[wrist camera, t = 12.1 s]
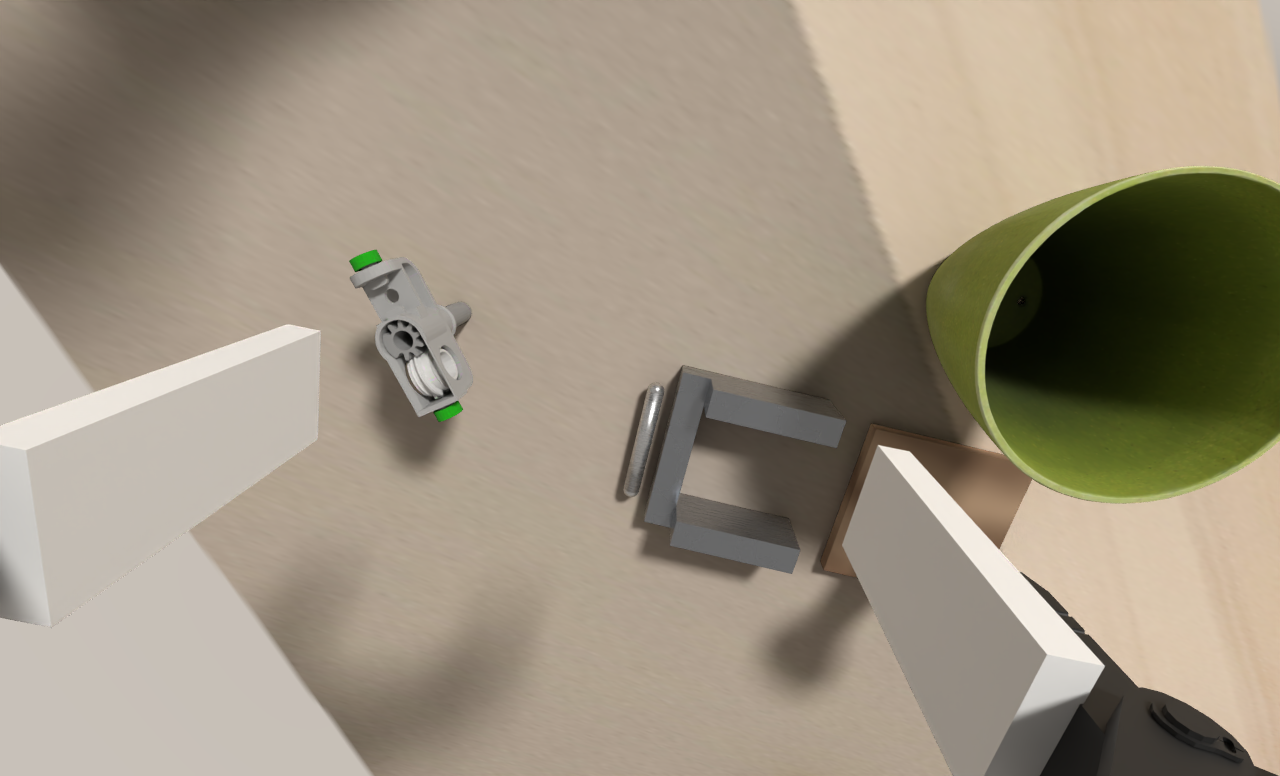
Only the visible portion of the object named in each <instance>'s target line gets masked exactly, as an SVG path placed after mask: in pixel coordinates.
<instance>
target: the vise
mask: <svg viewBox="0 0 1280 776" xmlns="http://www.w3.org/2000/svg"><path fill="white" fill-rule="evenodd" d="M663 395H664V387H663V386H662V385H661V384H660V383H657V382H655V383H652V384H650V385H649V387H648V390H647V394H646V398H645V402H644V406H643V410H642V415H641V419H640V423H639V427H638V431H637V435H636V439H635V443H634V447H633V451H632V455H631V459H630V463H629V467H628V472H627V476H626V480H625V484H624V488H623V489H624V493H625V494H626V495H627V496H629V497H634V496H636V495H637V494H638V492H639V489H640V485H641V481H642V477H643V474H644V470H645V466H646V462H647V458H648V454H649V450H650V446H651V442H652V438H653V434H654V430H655V426H656V422H657V419H658V415H659V411H660V407H661V403H662V399H663ZM703 407H704V409H705V416H706V418H711V419H715V420H719V421H723V422H728V423H732V424H736V425H740V426H745V427H749V428H753V429H757V430H762V431H766V432H770V433H774V434H779V435H783V436H787V437H791V438H795V439H800V440H804V441H808V442H812V443H817V444H821V445H825V446H829V447H834V448H837V446H838V443H839V440H840V437H841V435H842V432H843V429H844V426H845V423H846V420H845V419H844V417H843V416H842V415H841V414H840V412H839V411H838V410H837V409H836V407H835V406H834V405H833V404H832V403H831V401H830V400H828V399H823V398H819V397H815V396H811V395H807V394H802V393H798V392H794V391H790V390H786V389H781V388H777V387H773V386H769V385H764V384H760V383H756V382H752V381H748V380H743V379H739V378H735V377H731V376H727V375H722V374H718V373H714V372H710V371H705V370H701V369H697V368H693V367H689V366H684V365H683V366H682V370H681V374H680V378H679V382H678V386H677V390H676V393H675V397H674V401H673V405H672V409H671V413H670V416H669V420H668V424H667V428H666V432H665V436H664V439H663V443H662V447H661V451H660V455H659V459H658V462H657V466H656V470H655V474H654V478H653V482H652V485H651V489H650V493H649V497H648V501H647V505H646V508H645V519H644V522H648V523H652V524H656V525H661V526H665V527H669V528H670V546H674V547H678V548H683V549H687V550H691V551H696V552H700V553H704V554H709V555H713V556H717V557H721V558H726V559H730V560H734V561H739V562H743V563H747V564H752V565H756V566H760V567H765V568H769V569H773V570H777V571H782V572H786V573H790V574H792V572H793V570H794V567H795V564H796V561H797V558H798V556H799V553H800V548H799V545H798V542H797V540H796V537H795V534H794V532H793V529H792V526H791V523H790V521H789V519H788V518H784V517H780V516H776V515H771V514H767V513H763V512H758V511H754V510H750V509H746V508H741V507H737V506H733V505H728V504H724V503H720V502H716V501H711V500H707V499H703V498H698V497H694V496H690V495H686V494H681V493H680V490H681V486H682V483H683V479H684V475H685V472H686V468H687V465H688V461H689V457H690V454H691V450H692V447H693V443H694V439H695V436H696V432H697V429H698V425H699V421H700V418H701V414H702V411H703Z"/></svg>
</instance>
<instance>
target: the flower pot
mask: <svg viewBox="0 0 1280 776" xmlns="http://www.w3.org/2000/svg"><path fill="white" fill-rule="evenodd" d="M1021 297H1024V298H1025V303H1024V304H1022V305H1020V304H1018V303H1017V302H1018V300H1019V299H1020V298H1021ZM926 313H927V321H928V327H929V331H930V335H931V338H932V342H933V345H934V348H935V350H936V353H937V356H938V358H939V360H940V362H941V365H942V367H943V369H944V371H945V372H946V374H947V376H948V378H949V380H950V382H951V384H952V385H953V387H954V389H955V391H956V392H957V394H958V396H959V397H960V399H961V400H962V402H963V403H964V405H965V406H966V408H967V409H968V411H969V412H970V413H971V415H972V416H973V417H974V419H975V420H976V421H977V422H978V424H979V425H980V426H981V427H982V429H983V430H984V431H985V432H986V434H987V435H988V436H989V437H990V439H991V440H992V441H993V442H994V443H995V445H996V446H997V447H998V448H999V449H1000V450H1001V451H1002V453H1003V454H1004V455H1005V456H1006V457H1007V458H1008V459H1009V460H1010V461H1011V462H1012V463H1013V464H1014V465H1015V466H1016V467H1017V468H1018V469H1019V470H1020V471H1022V472H1023V473H1024V474H1026V475H1027V476H1028V477H1030V478H1031V479H1033V480H1035V481H1036V482H1038V483H1039V484H1041V485H1043V486H1045V487H1047V488H1049V489H1051V490H1054V491H1056V492H1059V493H1061V494H1064V495H1067V496H1071V497H1075V498H1078V499H1082V500H1087V501H1094V502H1103V503H1141V502H1150V501H1156V500H1162V499H1167V498H1171V497H1175V496H1179V495H1182V494H1186V493H1189V492H1192V491H1195V490H1198V489H1200V488H1203V487H1205V486H1208V485H1210V484H1213V483H1215V482H1217V481H1219V480H1222V479H1223V478H1225V477H1227V476H1229V475H1231V474H1233V473H1235V472H1237V471H1238V470H1240V469H1242V468H1244V467H1245V466H1247V465H1249V464H1250V463H1252V462H1253V461H1255V460H1256V459H1257V458H1259V457H1260V456H1262V455H1263V454H1264V453H1265V452H1267V451H1268V450H1269V449H1271V448H1272V447H1273V446H1274V445H1275V444H1276V443H1277V442H1279V441H1280V184H1279V183H1277V182H1275V181H1273V180H1270V179H1267V178H1265V177H1262V176H1260V175H1257V174H1253V173H1250V172H1247V171H1243V170H1237V169H1232V168H1225V167H1213V166H1187V167H1178V168H1170V169H1164V170H1158V171H1154V172H1150V173H1145V174H1141V175H1137V176H1132V177H1128V178H1125V179H1121V180H1117V181H1113V182H1110V183H1106V184H1102V185H1098V186H1095V187H1091V188H1088V189H1084V190H1081V191H1077V192H1074V193H1071V194H1068V195H1065V196H1062V197H1058V198H1055V199H1053V200H1050V201H1048V202H1045V203H1042V204H1040V205H1037V206H1035V207H1032V208H1030V209H1027V210H1025V211H1023V212H1020V213H1018V214H1016V215H1014V216H1011V217H1009V218H1007V219H1005V220H1003V221H1001V222H999V223H997V224H995V225H993V226H991V227H990V228H988V229H986V230H985V231H983V232H981V233H979V234H978V235H976V236H975V237H973V238H972V239H970V240H969V241H967V242H966V243H964V244H963V245H962V246H961V247H959V248H958V249H957V250H956V251H955V252H953V253H952V254H951V255H950V256H949V257H948V258H947V259H946V260H945V261H944V262H943V263H942V264H941V266H940V267H939V268H938V270H937V271H936V273H935V274H934V276H933V278H932V280H931V282H930V285H929V288H928V292H927V298H926Z"/></svg>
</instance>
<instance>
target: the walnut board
mask: <svg viewBox="0 0 1280 776" xmlns="http://www.w3.org/2000/svg"><path fill="white" fill-rule="evenodd" d="M878 445H880V446H885V447H890V448H895V449H900V450H905V451H910V452H911V453H912V455H913V456H914V457H915V458H916V459H917V460H918V461H919V462H920V463H921V464H922V466H923V467H924V468H925V469H926V470H927V471H928V472H929V473H930V474H931V475H932V477H933V478H934V479H935V480H936V481H937V482H938V483H939V484H940V485H941V486H942V488H943V489H944V490H945V491H946V492H947V493H948V494H949V495H950V496H951V497H952V498H953V500H954V501H955V502H956V503H957V504H958V505H959V506H960V507H961V508H962V509H963V511H964V512H965V513H966V514H967V515H968V516H969V517H970V518H971V519H972V520H973V522H974V523H975V524H976V525H977V526H978V527H979V528H980V529H981V530H982V531H983V533H984V534H985V535H986V536H987V537H988V538H989V539H990V540H991V541H992V542H993V544H994V545H995V546H996V547H997V548H998V549H1000V546H1001V544H1002V542H1003V540H1004V538H1005V536H1006V534H1007V531H1008V529H1009V527H1010V525H1011V523H1012V521H1013V519H1014V517H1015V514H1016V512H1017V510H1018V508H1019V506H1020V504H1021V502H1022V499H1023V497H1024V495H1025V493H1026V491H1027V489H1028V487H1029V485H1030V482H1031V480H1032V479H1031V478H1030V477H1028V476H1027V475H1026V474H1024V473H1023V472H1022V471H1020V470H1019V469H1018V468H1017V467H1016V466H1015V465H1014V464H1013V463H1012V462H1011V461H1010V460H1009V459H1008V458H1007V457H1006V456H1005V455H1003V454H998V453H994V452H990V451H986V450H981V449H977V448H973V447H969V446H965V445H960V444H956V443H952V442H948V441H943V440H939V439H935V438H931V437H927V436H922V435H918V434H914V433H910V432H905V431H901V430H897V429H893V428H889V427H884V426H880V425H876V424H872V423H871V425H870V428H869V430H868V433H867V436H866V439H865V441H864V444H863V447H862V449H861V452H860V455H859V458H858V460H857V463H856V466H855V468H854V471H853V474H852V476H851V479H850V482H849V485H848V487H847V490H846V493H845V495H844V498H843V501H842V504H841V506H840V509H839V512H838V514H837V517H836V520H835V523H834V525H833V528H832V531H831V533H830V536H829V539H828V542H827V544H826V547H825V550H824V552H823V555H822V558H821V560H820V562H821V564H822V567H823V569H824V570H826V571H830V572H835V573H839V574H843V575H847V576H852V577H856V578H858V577H857V575H856V573H855V571H854V569H853V567H852V565H851V563H850V561H849V559H848V557H847V554H846V552H845V550H844V548H843V546H842V544H843V541H844V538H845V535H846V533H847V530H848V527H849V524H850V521H851V519H852V516H853V513H854V510H855V507H856V505H857V502H858V499H859V496H860V493H861V491H862V488H863V485H864V482H865V479H866V477H867V474H868V471H869V468H870V465H871V463H872V460H873V457H874V454H875V451H876V449H877V446H878Z"/></svg>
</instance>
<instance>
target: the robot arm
mask: <svg viewBox="0 0 1280 776" xmlns="http://www.w3.org/2000/svg"><path fill="white" fill-rule="evenodd" d="M320 343H321V331H319V330H314V329H309V328H304V327H299V326H294V325H289V324H287V325H284V326H281V327H278V328H275V329H273V330H270V331H267V332H264V333H261V334H258V335H256V336H253V337H250V338H247V339H244V340H241V341H239V342H236V343H233V344H230V345H227V346H224V347H221V348H219V349H216V350H213V351H210V352H207V353H204V354H202V355H199V356H196V357H193V358H190V359H187V360H185V361H182V362H179V363H176V364H173V365H170V366H168V367H165V368H162V369H159V370H156V371H153V372H150V373H148V374H145V375H142V376H139V377H136V378H133V379H131V380H128V381H125V382H122V383H119V384H116V385H114V386H111V387H108V388H105V389H102V390H99V391H96V392H94V393H91V394H88V395H85V396H82V397H79V398H77V399H74V400H71V401H69V402H65V403H63V404H60V405H57V406H54V407H51V408H48V409H46V410H43V411H40V412H37V413H34V414H32V415H28V416H26V417H23V418H20V419H17V420H14V421H12V422H9V423H6V424H3V425H0V618H5V619H10V620H15V621H21V622H26V623H31V624H36V625H41V626H46V627H53V626H55V625H56V624H57V623H59V622H60V621H62V620H63V619H64V618H66V617H67V616H69V615H70V614H72V613H73V612H74V611H76V610H77V609H78V608H80V607H81V606H83V605H84V604H86V603H87V602H88V601H90V600H91V599H93V598H94V597H95V596H97V595H98V594H100V593H101V592H102V591H104V590H105V589H107V588H108V587H110V586H111V585H112V584H114V583H115V582H116V581H118V580H119V579H121V578H122V577H124V576H125V575H126V574H128V573H129V572H131V571H132V570H134V569H135V568H136V567H138V566H139V565H141V564H142V563H144V562H145V561H146V560H148V559H149V558H151V557H152V556H153V555H155V554H156V553H158V552H159V551H161V550H162V549H163V548H165V547H166V546H167V545H169V544H170V543H172V542H173V541H175V540H176V539H177V538H179V537H180V536H182V535H183V534H185V533H186V532H187V531H189V530H190V529H192V528H193V527H194V526H196V525H197V524H199V523H200V522H202V521H203V520H204V519H206V518H207V517H209V516H210V515H211V514H213V513H214V512H216V511H217V510H218V509H220V508H221V507H223V506H224V505H226V504H227V503H228V502H230V501H231V500H233V499H234V498H235V497H237V496H238V495H240V494H241V493H243V492H244V491H245V490H247V489H248V488H250V487H251V486H252V485H254V484H255V483H257V482H258V481H259V480H261V479H262V478H264V477H265V476H267V475H268V474H269V473H271V472H272V471H274V470H275V469H276V468H278V467H279V466H281V465H282V464H283V463H285V462H286V461H288V460H289V459H291V458H292V457H293V456H295V455H296V454H298V453H299V452H300V451H302V450H303V449H305V448H306V447H308V446H309V445H310V444H312V443H313V442H315V441H316V440H317V439H318V415H319V379H320ZM842 546H843V548H844V550H845V552H846V554H847V557H848V559H849V561H850V563H851V565H852V567H853V569H854V571H855V573H856V575H857V577H858V579H859V581H860V584H861V586H862V588H863V590H864V592H865V594H866V596H867V598H868V600H869V602H870V604H871V606H872V609H873V611H874V613H875V615H876V617H877V619H878V621H879V623H880V625H881V627H882V629H883V631H884V634H885V636H886V638H887V640H888V642H889V644H890V646H891V648H892V650H893V652H894V654H895V656H896V659H897V661H898V663H899V665H900V667H901V669H902V671H903V673H904V675H905V677H906V679H907V681H908V684H909V686H910V688H911V690H912V692H913V694H914V696H915V698H916V700H917V702H918V704H919V706H920V708H921V711H922V713H923V715H924V717H925V719H926V721H927V723H928V725H929V727H930V729H931V731H932V733H933V736H934V738H935V740H936V742H937V744H938V746H939V748H940V750H941V752H942V754H943V756H944V758H945V761H946V763H947V765H948V767H949V769H950V771H951V773H952V775H953V776H1278V775H1275V774H1273V773H1270V772H1268V771H1265V770H1263V769H1261V768H1258V767H1256V766H1254V764H1253V762H1252V760H1251V758H1250V756H1249V754H1248V752H1247V751H1246V750H1245V749H1244V748H1243V747H1242V746H1241V745H1240V743H1239V742H1238V741H1237V740H1236V739H1235V738H1234V737H1233V736H1232V735H1231V734H1230V733H1228V732H1227V731H1226V730H1225V729H1223V728H1222V727H1221V726H1220V725H1218V724H1217V723H1216V722H1214V721H1213V720H1212V719H1211V718H1209V717H1208V716H1206V715H1204V714H1203V713H1201V712H1199V711H1198V710H1196V709H1194V708H1193V707H1191V706H1190V705H1188V704H1186V703H1184V702H1182V701H1180V700H1178V699H1175V698H1173V697H1171V696H1169V695H1167V694H1164V693H1162V692H1158V691H1154V690H1151V689H1147V688H1138V687H1137V686H1136V685H1135V684H1134V682H1133V681H1132V680H1131V679H1130V678H1129V677H1128V676H1127V675H1126V674H1125V673H1124V672H1123V671H1122V670H1121V669H1120V668H1119V666H1118V665H1117V664H1116V663H1115V662H1114V661H1113V660H1112V659H1111V658H1110V657H1109V656H1108V655H1107V654H1106V653H1105V652H1104V650H1103V649H1102V648H1101V647H1100V646H1099V645H1098V644H1097V643H1096V642H1095V641H1094V640H1093V639H1092V638H1091V637H1090V636H1089V635H1087V634H1085V633H1084V631H1085V630H1084V629H1083V628H1082V627H1081V626H1080V625H1079V624H1078V623H1077V622H1076V621H1075V620H1074V618H1073V617H1069V616H1068V612H1067V611H1066V610H1065V609H1064V608H1063V607H1062V606H1061V605H1060V604H1059V602H1058V601H1057V600H1056V599H1055V598H1054V597H1053V596H1052V595H1051V594H1050V593H1049V592H1048V591H1047V590H1045V589H1044V588H1042V587H1041V586H1040V585H1038V584H1037V583H1036V582H1034V581H1033V580H1031V579H1030V578H1029V577H1027V576H1026V575H1025V574H1023V573H1022V572H1019V571H1018V570H1017V569H1016V568H1015V567H1014V566H1013V564H1012V563H1011V562H1010V561H1009V560H1008V559H1007V558H1006V557H1005V556H1004V555H1003V553H1002V552H1001V551H1000V550H999V549H998V548H997V547H996V546H995V545H994V544H993V542H992V541H991V540H990V539H989V538H988V537H987V536H986V535H985V534H984V533H983V531H982V530H981V529H980V528H979V527H978V526H977V525H976V524H975V523H974V522H973V520H972V519H971V518H970V517H969V516H968V515H967V514H966V513H965V512H964V511H963V509H962V508H961V507H960V506H959V505H958V504H957V503H956V502H955V501H954V500H953V498H952V497H951V496H950V495H949V494H948V493H947V492H946V491H945V490H944V489H943V488H942V486H941V485H940V484H939V483H938V482H937V481H936V480H935V479H934V478H933V477H932V475H931V474H930V473H929V472H928V471H927V470H926V469H925V468H924V467H923V466H922V464H921V463H920V462H919V461H918V460H917V459H916V458H915V457H914V456H913V455H912V453H911V452H910V451H905V450H900V449H895V448H890V447H885V446H880V445H878V446H877V449H876V451H875V454H874V457H873V460H872V463H871V465H870V468H869V471H868V474H867V477H866V479H865V482H864V485H863V488H862V491H861V493H860V496H859V499H858V502H857V505H856V507H855V510H854V513H853V516H852V519H851V521H850V524H849V527H848V530H847V533H846V535H845V538H844V541H843V544H842Z"/></svg>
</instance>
